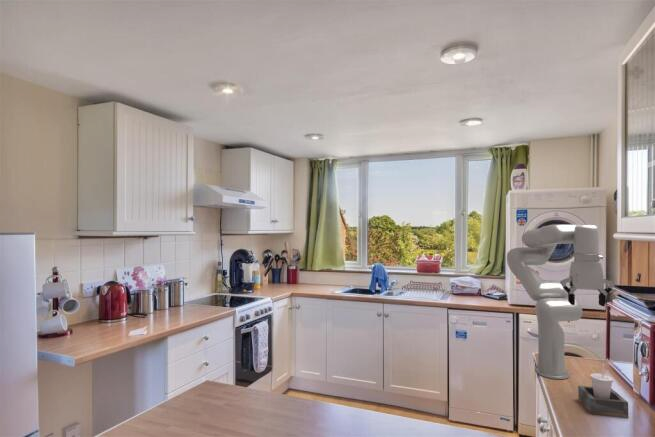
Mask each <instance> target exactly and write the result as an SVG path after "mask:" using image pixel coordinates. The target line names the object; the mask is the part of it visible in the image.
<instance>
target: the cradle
mask: <svg viewBox="0 0 655 437" xmlns="http://www.w3.org/2000/svg"><path fill="white" fill-rule="evenodd" d="M577 388H578V390H577V392H578V393H577V394H578V396H577V397H578V401H579V402H580V403H581V405H583V407H584V408H585V409H586V410H587V411H588V412H589V413H590V414H591V415H595V416H596V415H597V416H605V417H617V418H625V419H629V402H628V400H626V399H625V398H624V397H622V396H621V395H620V394H619V393H618V392H616V390H614V389H613V388H611V393H610V399H603V398H594V392H593V386H584V385H578V387H577Z"/></svg>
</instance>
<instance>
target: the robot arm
mask: <svg viewBox="0 0 655 437" xmlns="http://www.w3.org/2000/svg"><path fill="white" fill-rule="evenodd" d="M599 239H600V238H599V228H598V226H597V225H593V224H550V225H544V226H541V227H540V228H533V229H528V230H526V231H525V232H524V233H523V234H522V235H521V242H522V243H523V245H525V246H526V247H523V246H522V247H521V246H520V247H514V248H511V249H510V250H509V251H508V252H507V253H506V261H507V262H506V263H507V267H508V268H509V270H510V272H511V273H512V274H513V275H514V276H515V278H516V279H517V280H518V281H519V283H521V285H522V287H523V289H524V290H525V292H526V293H527V295H528V296H529V297H530V299H531V300H532V301H534V302H536V303H535V306H534V308H535V310H534V311H535V315H536V320H537V337H538V338H537V340H538V341H537V346H538V348H537V349H538V350H537V351H538V356H537V357H538V359H537V360H538V365H537V366H535V367H534V372H535V373H536V374H537V375H538V376H539V375H540V376H542V377H545V378H547V379H553V380H565V379H568V378H570V373H569V371H567V370H566V369H565V359H566V358H565V331H564V330H563V327H562V326H561V324H560V323H559V322H575V321H576V322H577V321H579V320H581V318H582V317H583V308H582V306H581V304H580V302H579V301H578V299H577V298H576V297H575V296H576V295H575V294H574V293H575V292H576V291H577V290H584V291H585V290H588V291H589V290H591V291H598V292H599V294H598V305H599V306H601V307H606V304H607V295H608V294H609V293H611V291H612V289H614V286H615V283H614V282H612V281H610V280H608V279H606V278H604V270H603V267H602V263H601V262H600V260H603V259H604V256H603V255H600V254H599V253H600V251H599V249H600V248H599V243H600V242H599ZM562 244H563V245H568V244H569V245H573V261H571V262H570V263H571V264H570V267H569V275H568V277H567V278H564V279H562V280H555V279H554V280H553V279H550V280H549V279H544V278H542V277H541V276H540V274H539V273H538V272H537V270H535V269H533V268H532V267H530V266H543V265H545V264H546V263H547V262H548V261H549V260H550V258H551V256H552V254H553V253H554V251H555V249H556V247H557V245H562ZM567 284H569V287H568V286H567ZM605 284H606V285H607V286H606V287H605Z"/></svg>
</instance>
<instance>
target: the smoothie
mask: <svg viewBox="0 0 655 437" xmlns="http://www.w3.org/2000/svg"><path fill="white" fill-rule="evenodd" d="M589 375H590V377H589V379H591V385H592V386H591V387H593V392H594V398H603V399H610V393H611V389H612V384H613V383H614V379H613V377H611V376H609V375H607V374H605V364H604V363H601V373H598V372H597V373H596V372H595V373H594V372H593V373H591V374H589Z"/></svg>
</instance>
